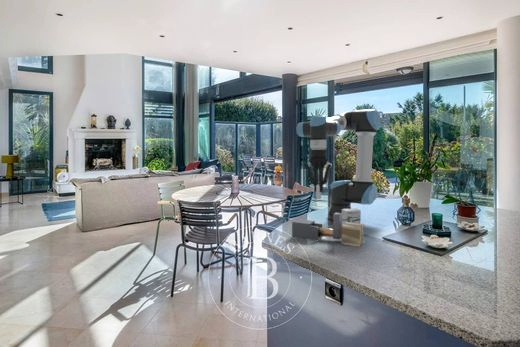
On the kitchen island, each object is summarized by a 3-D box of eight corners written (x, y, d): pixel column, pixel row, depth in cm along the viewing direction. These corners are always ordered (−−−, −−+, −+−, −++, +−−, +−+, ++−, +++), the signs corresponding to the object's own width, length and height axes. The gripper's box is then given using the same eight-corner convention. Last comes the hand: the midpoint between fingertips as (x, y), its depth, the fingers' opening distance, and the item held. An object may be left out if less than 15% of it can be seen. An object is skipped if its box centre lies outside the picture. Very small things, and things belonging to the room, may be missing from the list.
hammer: (314, 233, 163) (314, 210, 162) (351, 238, 155) (352, 214, 154) (311, 235, 159) (311, 212, 158) (349, 240, 151) (349, 215, 150)
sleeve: (297, 233, 169) (297, 219, 168) (322, 236, 163) (322, 221, 162) (292, 237, 163) (292, 221, 162) (317, 240, 157) (317, 224, 156)
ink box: (345, 233, 168) (345, 210, 167) (340, 231, 173) (341, 208, 172) (360, 232, 170) (361, 209, 169) (355, 230, 175) (356, 208, 174)
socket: (346, 239, 158) (346, 222, 157) (363, 242, 154) (363, 223, 153) (341, 244, 151) (341, 225, 150) (359, 246, 147) (359, 227, 146)
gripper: (302, 149, 156) (303, 198, 159) (329, 149, 150) (329, 200, 153) (308, 148, 163) (308, 196, 165) (334, 148, 157) (334, 198, 159)
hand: (318, 198), depth 159 cm, fingers closed
